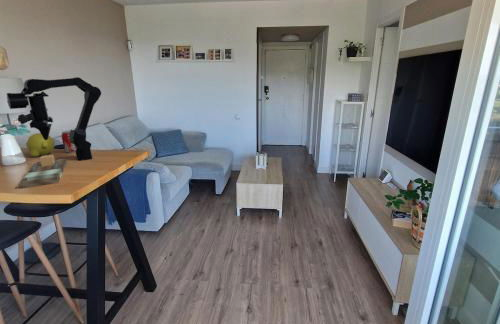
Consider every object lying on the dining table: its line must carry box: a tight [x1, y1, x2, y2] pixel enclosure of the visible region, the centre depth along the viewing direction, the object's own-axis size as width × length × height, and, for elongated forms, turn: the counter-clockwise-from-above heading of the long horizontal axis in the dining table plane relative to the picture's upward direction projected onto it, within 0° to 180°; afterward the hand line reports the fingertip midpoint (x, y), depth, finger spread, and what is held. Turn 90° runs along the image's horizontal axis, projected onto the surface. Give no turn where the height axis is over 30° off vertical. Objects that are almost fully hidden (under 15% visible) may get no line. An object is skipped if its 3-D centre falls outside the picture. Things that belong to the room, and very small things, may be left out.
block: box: [39, 154, 56, 167], centre depth 128 cm, size 4×4×4 cm
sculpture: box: [25, 132, 55, 158], centre depth 154 cm, size 15×13×13 cm
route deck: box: [19, 158, 68, 189], centre depth 122 cm, size 12×32×4 cm, turn 27°
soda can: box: [60, 130, 77, 154], centre depth 160 cm, size 7×7×12 cm
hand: (46, 139), depth 132 cm, fingers closed
